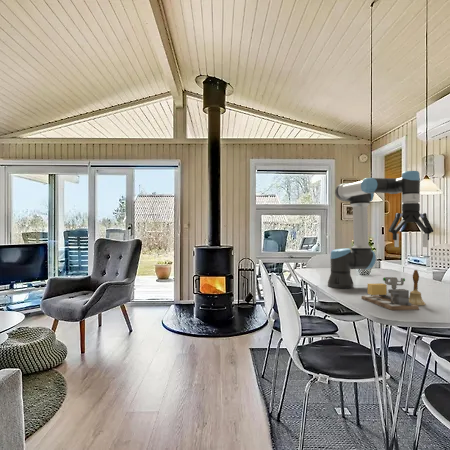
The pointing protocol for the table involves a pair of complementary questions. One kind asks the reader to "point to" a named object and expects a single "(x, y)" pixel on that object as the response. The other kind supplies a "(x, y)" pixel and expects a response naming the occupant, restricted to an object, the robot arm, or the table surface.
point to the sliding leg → (377, 289)
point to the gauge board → (393, 300)
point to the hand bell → (416, 291)
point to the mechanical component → (393, 282)
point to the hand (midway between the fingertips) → (410, 247)
